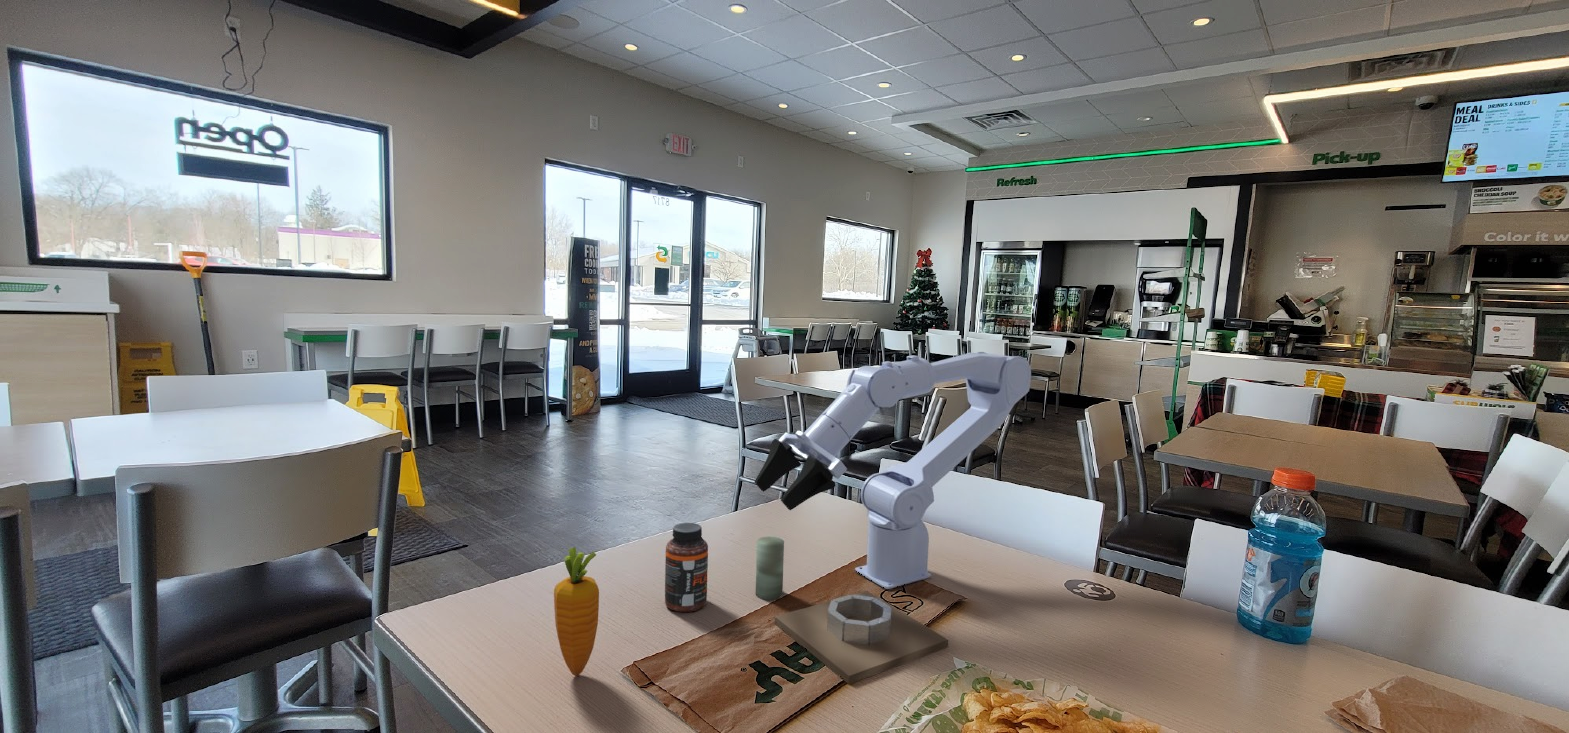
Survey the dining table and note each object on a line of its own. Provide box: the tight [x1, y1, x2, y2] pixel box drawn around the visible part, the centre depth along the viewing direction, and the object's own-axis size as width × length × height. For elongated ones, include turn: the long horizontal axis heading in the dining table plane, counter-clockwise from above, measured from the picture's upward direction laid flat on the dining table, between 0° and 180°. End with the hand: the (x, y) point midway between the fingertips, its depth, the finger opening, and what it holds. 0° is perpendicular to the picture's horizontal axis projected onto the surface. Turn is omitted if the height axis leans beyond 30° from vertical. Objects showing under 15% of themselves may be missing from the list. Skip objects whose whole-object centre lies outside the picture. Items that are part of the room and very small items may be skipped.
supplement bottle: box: [664, 522, 709, 613], centre depth 92 cm, size 6×6×11 cm
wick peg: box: [755, 536, 785, 601], centre depth 96 cm, size 4×4×8 cm
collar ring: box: [827, 594, 891, 645], centre depth 85 cm, size 8×8×2 cm
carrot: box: [553, 546, 600, 677], centre depth 74 cm, size 5×5×15 cm
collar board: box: [774, 590, 949, 685], centre depth 85 cm, size 16×16×1 cm
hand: (771, 495), depth 93 cm, fingers open, 7 cm apart
